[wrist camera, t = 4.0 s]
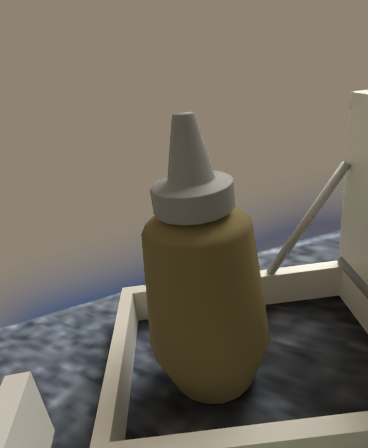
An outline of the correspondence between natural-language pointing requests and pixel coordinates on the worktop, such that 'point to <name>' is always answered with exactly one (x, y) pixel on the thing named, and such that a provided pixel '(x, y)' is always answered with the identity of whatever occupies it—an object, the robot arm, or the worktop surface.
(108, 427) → the access hatch
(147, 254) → the squeeze bottle
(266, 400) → the worktop surface
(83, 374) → the worktop surface
